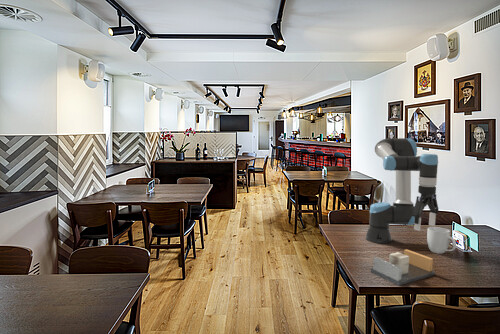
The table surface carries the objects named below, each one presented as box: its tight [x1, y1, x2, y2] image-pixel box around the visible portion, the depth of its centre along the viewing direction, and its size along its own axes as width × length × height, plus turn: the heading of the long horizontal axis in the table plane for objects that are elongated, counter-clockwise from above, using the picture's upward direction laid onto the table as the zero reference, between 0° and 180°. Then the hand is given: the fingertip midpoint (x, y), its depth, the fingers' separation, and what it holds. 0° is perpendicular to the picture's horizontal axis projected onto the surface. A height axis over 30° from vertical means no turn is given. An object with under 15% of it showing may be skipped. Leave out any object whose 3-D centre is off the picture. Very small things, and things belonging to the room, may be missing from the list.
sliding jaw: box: [403, 249, 434, 272], centre depth 158 cm, size 14×2×6 cm, turn 27°
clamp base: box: [370, 256, 436, 287], centre depth 153 cm, size 16×25×8 cm, turn 117°
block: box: [388, 251, 409, 274], centre depth 152 cm, size 6×6×8 cm
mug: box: [426, 226, 457, 255], centre depth 180 cm, size 15×11×13 cm
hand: (424, 227), depth 159 cm, fingers open, 13 cm apart
